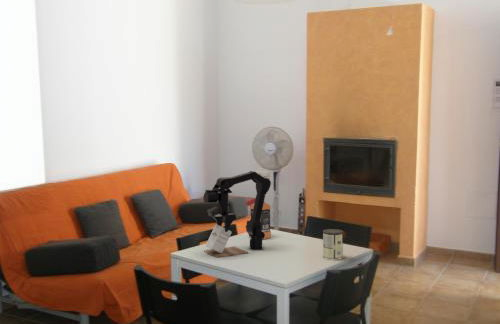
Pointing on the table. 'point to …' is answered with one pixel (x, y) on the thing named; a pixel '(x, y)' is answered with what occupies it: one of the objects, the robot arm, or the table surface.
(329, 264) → the table surface
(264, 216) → the whiskey bottle
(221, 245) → the supplement box
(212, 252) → the walnut board
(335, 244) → the coffee can
